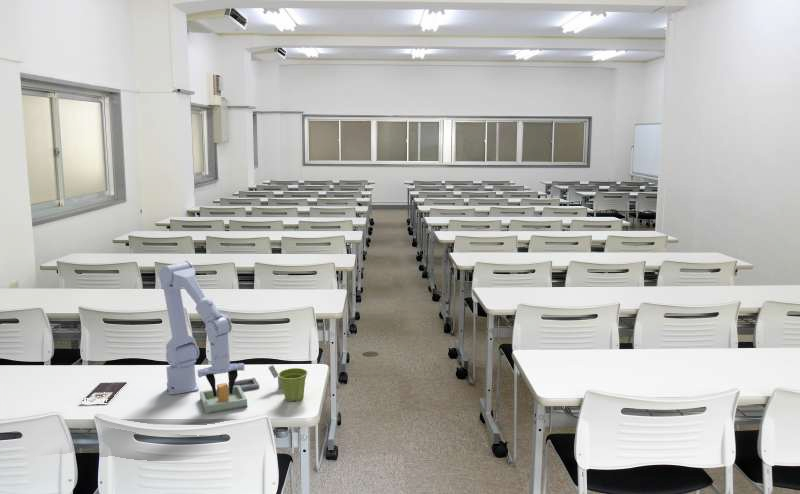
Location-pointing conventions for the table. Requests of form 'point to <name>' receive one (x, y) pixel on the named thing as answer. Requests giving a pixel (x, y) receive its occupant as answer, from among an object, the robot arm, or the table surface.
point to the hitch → (246, 381)
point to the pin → (222, 392)
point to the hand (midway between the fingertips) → (222, 394)
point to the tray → (213, 405)
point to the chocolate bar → (109, 391)
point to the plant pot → (293, 383)
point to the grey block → (275, 375)
